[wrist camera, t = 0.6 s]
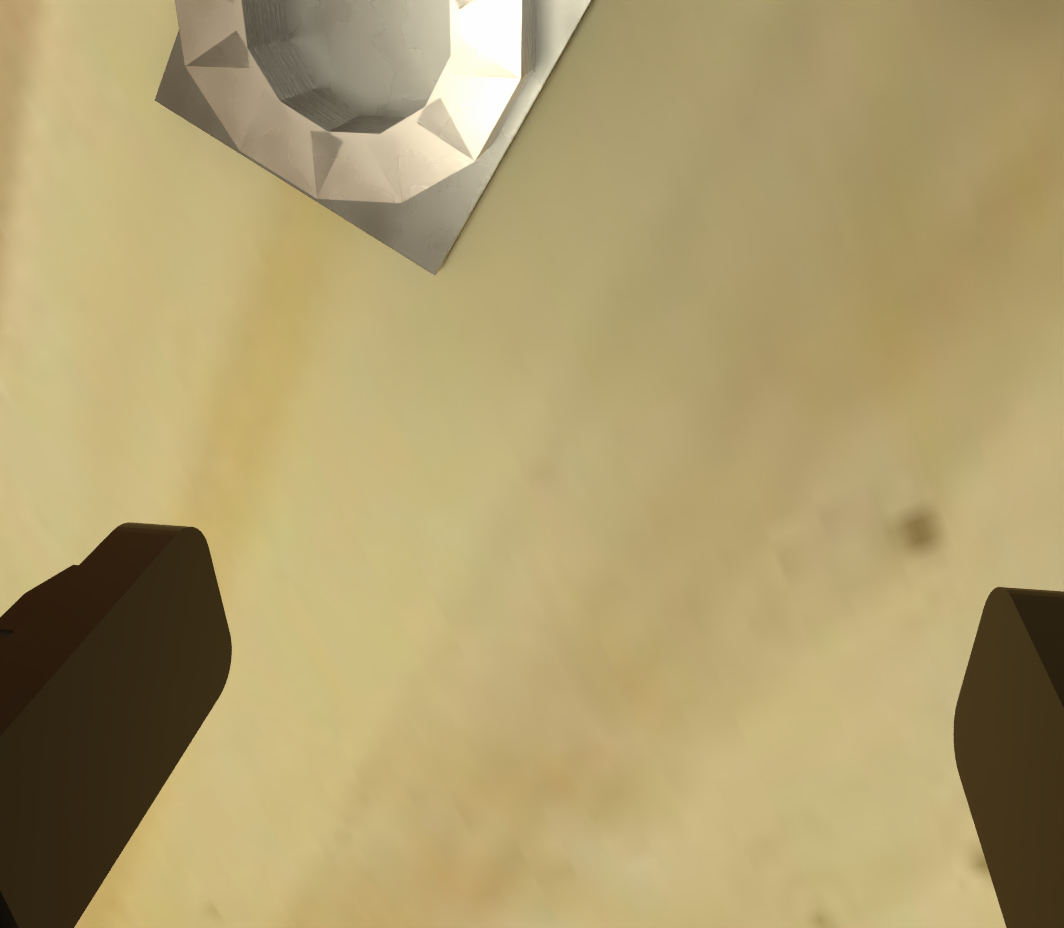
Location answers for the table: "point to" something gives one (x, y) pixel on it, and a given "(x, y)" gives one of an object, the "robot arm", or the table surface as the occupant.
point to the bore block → (371, 99)
